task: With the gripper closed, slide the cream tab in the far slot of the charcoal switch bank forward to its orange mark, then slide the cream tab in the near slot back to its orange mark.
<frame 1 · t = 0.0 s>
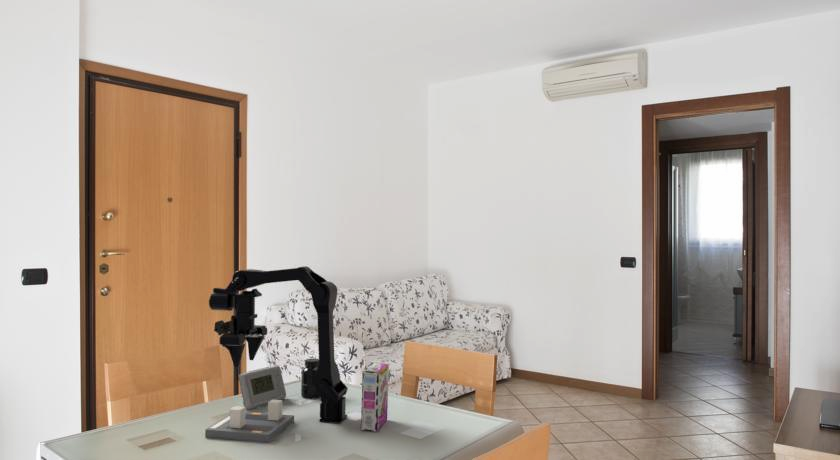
hand: (244, 363, 170), 15 cm above the table, fingers open, 9 cm apart
supplement bottle: (311, 396, 188), on the table
digital clock: (262, 404, 179), on the table
switch tab 1: (275, 409, 158), point 5 cm above the table, slide at 0.0 cm
switch bank: (251, 429, 155), on the table
candy bar box: (374, 425, 160), on the table
switch tab 2: (237, 417, 152), point 5 cm above the table, slide at 7.0 cm
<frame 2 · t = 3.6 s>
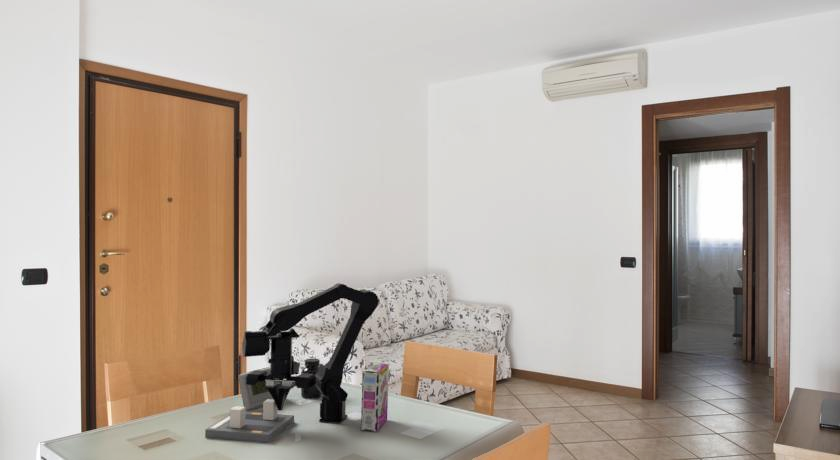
hand: (280, 410, 158), 5 cm above the table, fingers closed
switch tab 1: (270, 409, 158), point 5 cm above the table, slide at 1.4 cm, touching gripper
everything else where it was.
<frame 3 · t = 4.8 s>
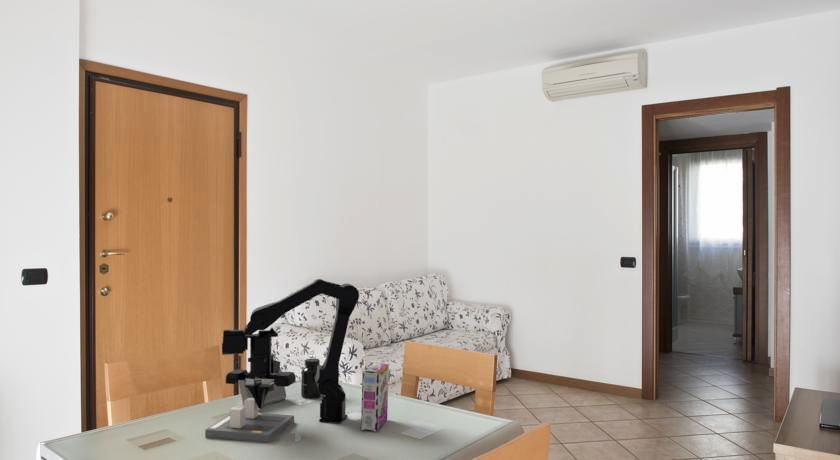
hand: (260, 408, 159), 5 cm above the table, fingers closed
switch tab 1: (251, 408, 160), point 5 cm above the table, slide at 7.2 cm, touching gripper
everything else where it was.
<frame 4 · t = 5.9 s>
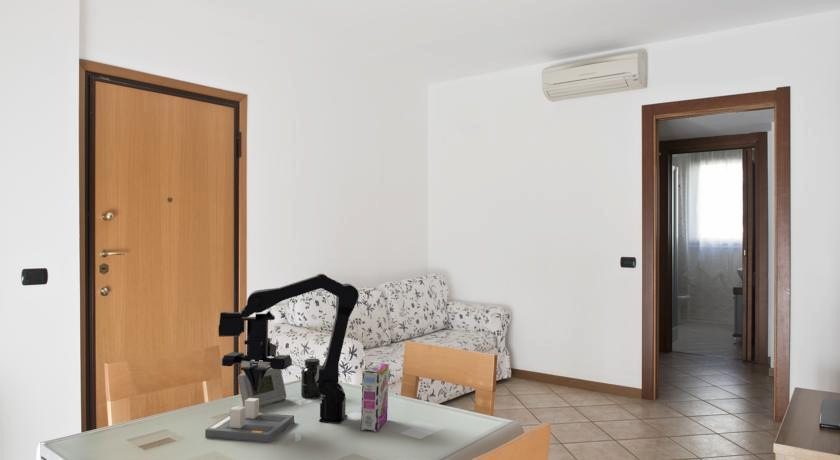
hand: (256, 391, 159), 9 cm above the table, fingers closed
switch tab 1: (251, 408, 160), point 4 cm above the table, slide at 7.1 cm
everything else where it was.
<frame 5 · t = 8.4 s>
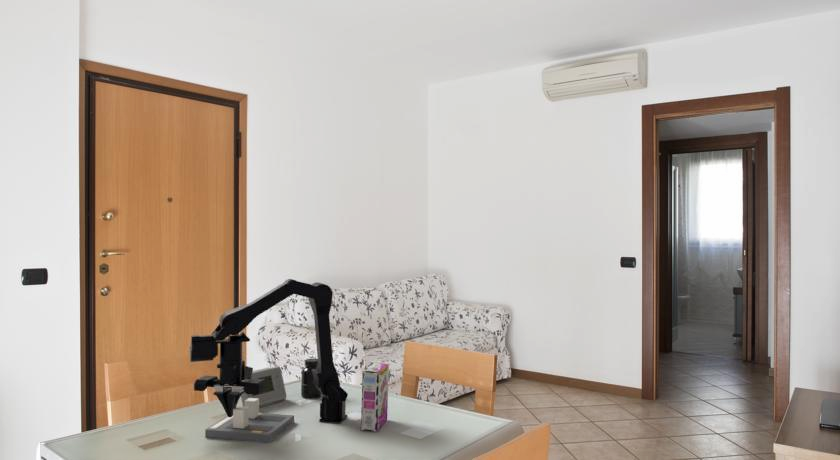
hand: (230, 416, 152), 4 cm above the table, fingers closed
switch tab 2: (240, 417, 151), point 4 cm above the table, slide at 6.1 cm, touching gripper
everything else where it was.
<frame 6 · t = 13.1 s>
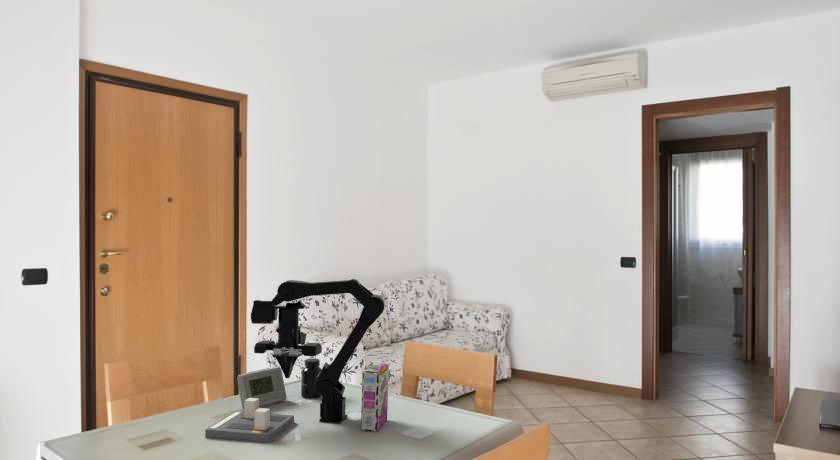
hand: (287, 377, 164), 12 cm above the table, fingers closed
switch tab 2: (262, 419, 150), point 5 cm above the table, slide at -0.1 cm
at the end: switch tab 1 slide at 7.1 cm; switch tab 2 slide at -0.1 cm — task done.
